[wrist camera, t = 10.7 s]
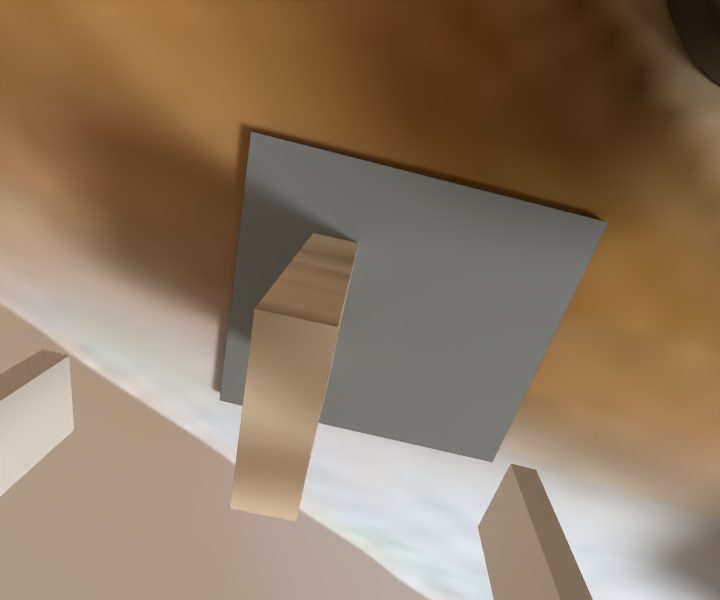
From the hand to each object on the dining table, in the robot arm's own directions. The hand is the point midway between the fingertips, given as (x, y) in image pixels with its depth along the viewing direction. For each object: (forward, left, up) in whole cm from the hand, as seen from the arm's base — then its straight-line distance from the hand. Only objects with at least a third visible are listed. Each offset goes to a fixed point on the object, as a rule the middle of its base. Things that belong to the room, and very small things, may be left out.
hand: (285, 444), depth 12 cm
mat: (0, +4, -12) cm, 12 cm away
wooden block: (0, 0, -11) cm, 11 cm away
